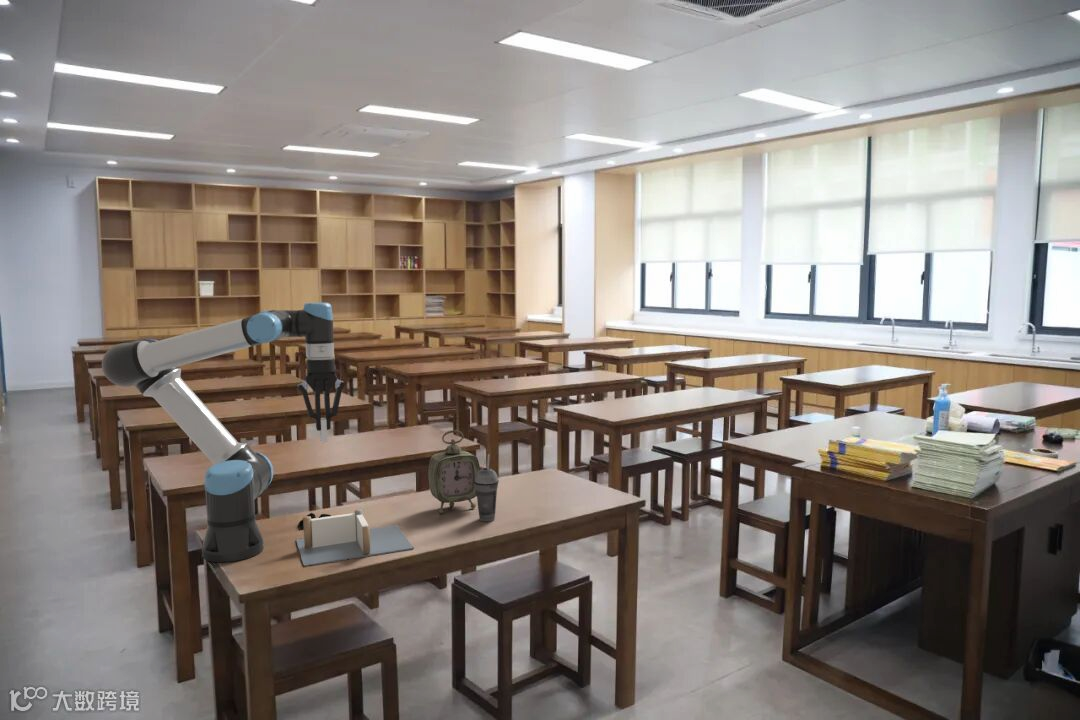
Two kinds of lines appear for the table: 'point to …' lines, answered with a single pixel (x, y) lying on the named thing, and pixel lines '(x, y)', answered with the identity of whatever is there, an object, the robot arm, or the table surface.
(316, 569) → the table surface
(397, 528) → the card
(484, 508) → the beverage cup
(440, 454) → the tabletop clock
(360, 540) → the cream upright panel
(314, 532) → the fixed fence section
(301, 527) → the black jagged rounded shell
